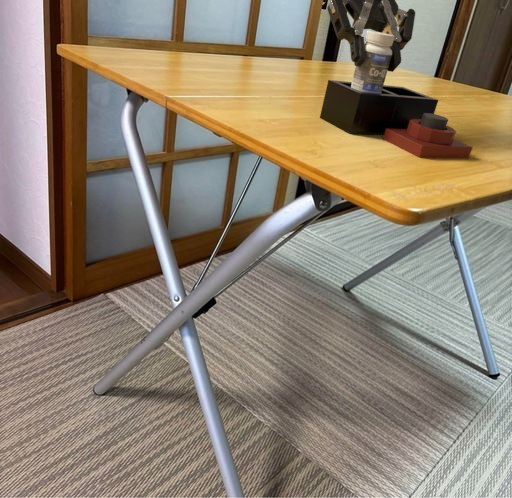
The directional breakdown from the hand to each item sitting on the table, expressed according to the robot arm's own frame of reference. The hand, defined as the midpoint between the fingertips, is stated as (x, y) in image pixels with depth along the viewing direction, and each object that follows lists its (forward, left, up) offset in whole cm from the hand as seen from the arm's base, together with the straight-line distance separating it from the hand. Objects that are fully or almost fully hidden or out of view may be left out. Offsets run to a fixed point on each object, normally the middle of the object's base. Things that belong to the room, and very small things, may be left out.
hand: (377, 65), depth 75 cm
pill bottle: (0, -1, -4) cm, 5 cm away
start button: (-6, +8, -7) cm, 12 cm away
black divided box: (-4, -2, -10) cm, 11 cm away
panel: (-6, +8, -10) cm, 14 cm away
